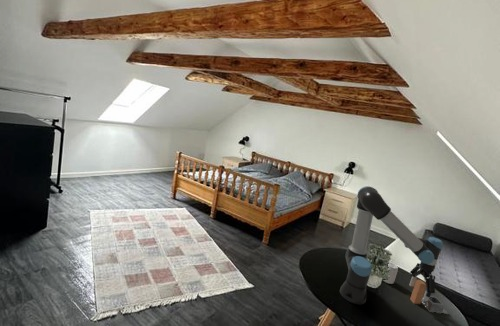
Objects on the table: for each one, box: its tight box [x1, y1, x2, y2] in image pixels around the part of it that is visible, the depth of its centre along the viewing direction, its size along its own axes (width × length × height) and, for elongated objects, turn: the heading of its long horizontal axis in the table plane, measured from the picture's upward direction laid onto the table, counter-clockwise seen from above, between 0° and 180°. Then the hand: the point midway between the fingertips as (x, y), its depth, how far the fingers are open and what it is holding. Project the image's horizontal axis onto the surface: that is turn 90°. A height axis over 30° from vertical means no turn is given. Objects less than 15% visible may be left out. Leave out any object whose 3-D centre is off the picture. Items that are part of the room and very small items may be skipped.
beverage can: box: [382, 262, 399, 285], centre depth 192 cm, size 8×8×12 cm
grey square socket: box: [420, 295, 449, 315], centre depth 173 cm, size 12×12×4 cm
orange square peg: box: [410, 279, 427, 305], centre depth 173 cm, size 4×4×14 cm
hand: (417, 292), depth 174 cm, fingers open, 13 cm apart
